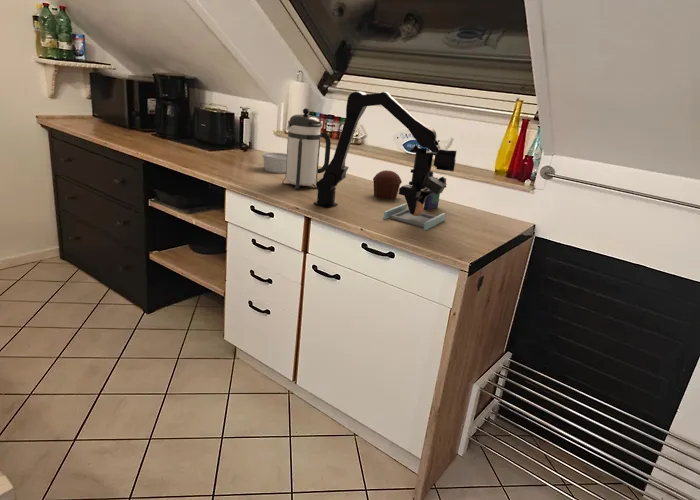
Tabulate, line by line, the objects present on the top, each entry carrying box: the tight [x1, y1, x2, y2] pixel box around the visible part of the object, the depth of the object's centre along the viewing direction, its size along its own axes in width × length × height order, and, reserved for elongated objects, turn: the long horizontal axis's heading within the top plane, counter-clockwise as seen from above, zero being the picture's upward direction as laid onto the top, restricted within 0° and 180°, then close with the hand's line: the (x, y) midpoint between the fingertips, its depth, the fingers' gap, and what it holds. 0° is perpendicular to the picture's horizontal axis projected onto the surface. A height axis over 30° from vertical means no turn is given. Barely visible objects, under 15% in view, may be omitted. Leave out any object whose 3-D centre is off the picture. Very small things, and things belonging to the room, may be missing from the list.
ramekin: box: [262, 151, 287, 174], centre depth 218 cm, size 13×13×7 cm
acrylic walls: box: [382, 203, 447, 231], centre depth 168 cm, size 16×16×2 cm
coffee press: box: [282, 107, 332, 191], centre depth 192 cm, size 17×16×30 cm
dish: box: [390, 208, 437, 228], centre depth 168 cm, size 12×12×1 cm
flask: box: [423, 190, 441, 212], centre depth 183 cm, size 9×3×11 cm, turn 144°
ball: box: [409, 202, 424, 216], centre depth 167 cm, size 5×5×5 cm
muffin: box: [372, 169, 402, 200], centre depth 193 cm, size 12×11×10 cm
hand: (415, 212), depth 167 cm, fingers closed on ball, 5 cm apart
